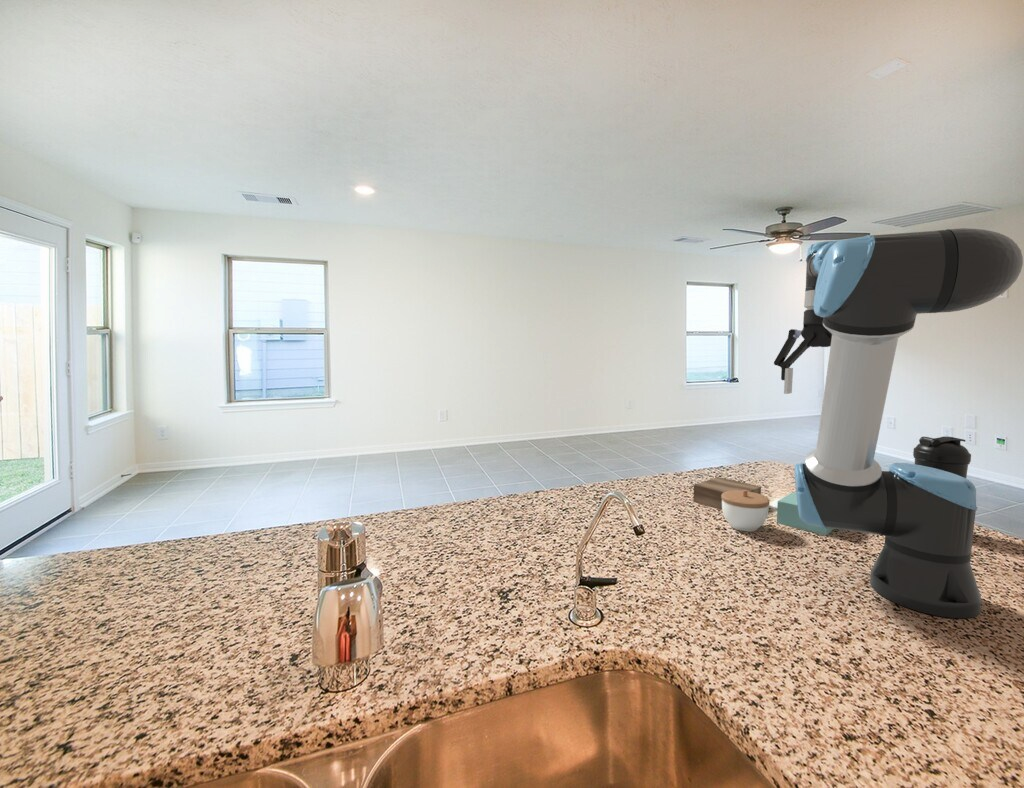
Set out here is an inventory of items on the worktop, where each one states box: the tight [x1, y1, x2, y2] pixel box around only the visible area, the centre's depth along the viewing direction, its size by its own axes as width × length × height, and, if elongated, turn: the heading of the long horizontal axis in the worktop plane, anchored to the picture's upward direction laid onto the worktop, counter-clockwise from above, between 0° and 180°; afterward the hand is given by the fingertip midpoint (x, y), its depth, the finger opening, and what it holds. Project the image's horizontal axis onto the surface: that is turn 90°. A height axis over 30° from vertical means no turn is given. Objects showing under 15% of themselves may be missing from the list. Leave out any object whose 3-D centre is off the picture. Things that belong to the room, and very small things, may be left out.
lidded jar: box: [721, 490, 770, 532], centre depth 118 cm, size 11×11×9 cm
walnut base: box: [692, 476, 762, 510], centre depth 136 cm, size 13×13×5 cm
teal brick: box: [776, 491, 835, 537], centre depth 120 cm, size 11×11×6 cm
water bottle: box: [912, 436, 972, 479], centre depth 114 cm, size 10×10×23 cm
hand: (817, 395), depth 117 cm, fingers open, 13 cm apart
